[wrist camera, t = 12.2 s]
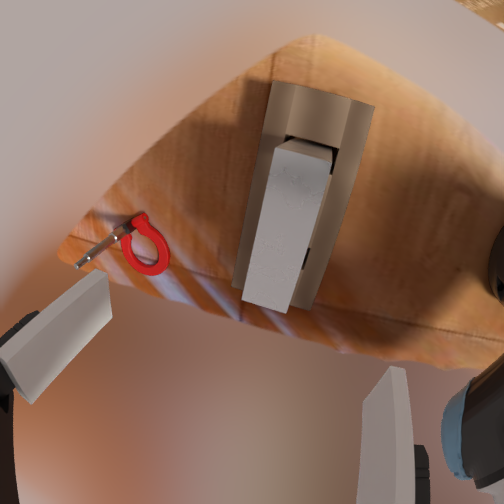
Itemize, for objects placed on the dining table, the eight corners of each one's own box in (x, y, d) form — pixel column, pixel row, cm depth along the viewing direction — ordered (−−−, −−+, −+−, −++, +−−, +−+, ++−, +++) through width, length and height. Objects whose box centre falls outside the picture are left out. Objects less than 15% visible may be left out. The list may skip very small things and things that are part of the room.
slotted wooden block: (369, 108, 27) (374, 106, 24) (312, 293, 39) (309, 311, 35) (279, 84, 29) (272, 80, 25) (240, 271, 40) (231, 286, 36)
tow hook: (181, 264, 43) (150, 208, 40) (135, 319, 32) (90, 251, 28) (142, 277, 46) (113, 228, 43) (96, 327, 35) (57, 269, 32)
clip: (331, 146, 30) (332, 162, 19) (302, 250, 36) (286, 313, 25) (296, 137, 31) (275, 147, 19) (271, 241, 37) (241, 299, 26)
